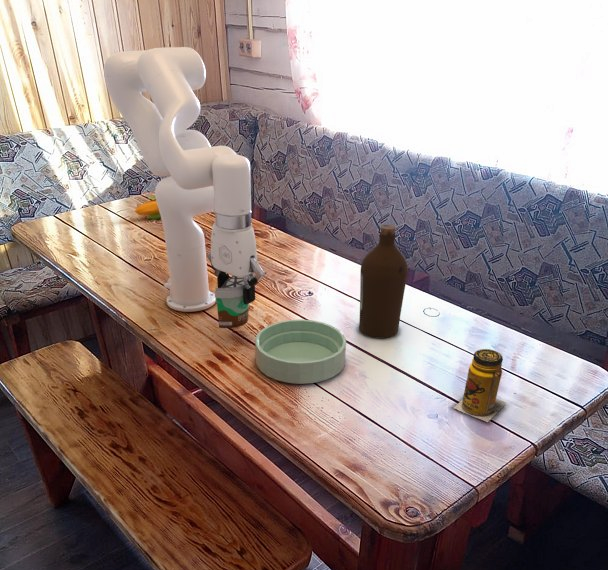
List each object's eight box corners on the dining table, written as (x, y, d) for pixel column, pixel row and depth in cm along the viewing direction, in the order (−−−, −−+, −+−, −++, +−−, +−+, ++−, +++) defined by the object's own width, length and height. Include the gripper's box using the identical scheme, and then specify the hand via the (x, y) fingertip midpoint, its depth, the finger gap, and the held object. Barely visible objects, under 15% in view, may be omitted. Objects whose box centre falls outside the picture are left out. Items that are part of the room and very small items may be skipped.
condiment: (452, 408, 116) (463, 355, 109) (472, 390, 121) (483, 339, 114) (487, 423, 112) (500, 369, 105) (506, 404, 117) (520, 351, 110)
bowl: (237, 365, 128) (236, 342, 125) (293, 332, 141) (293, 311, 138) (308, 396, 118) (308, 373, 115) (361, 359, 131) (363, 337, 128)
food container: (242, 334, 131) (241, 292, 126) (216, 330, 133) (214, 288, 127) (260, 312, 141) (260, 272, 136) (236, 308, 142) (234, 268, 137)
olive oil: (405, 324, 145) (417, 222, 131) (394, 343, 137) (406, 237, 123) (363, 316, 148) (371, 216, 134) (350, 335, 140) (357, 231, 126)
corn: (189, 192, 211) (138, 201, 201) (192, 213, 215) (142, 224, 205) (179, 189, 216) (128, 198, 206) (182, 210, 220) (132, 220, 210)
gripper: (191, 214, 125) (197, 291, 135) (252, 234, 116) (254, 314, 127) (216, 205, 130) (220, 281, 140) (276, 224, 121) (276, 303, 132)
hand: (236, 296), depth 133 cm, fingers closed on food container, 7 cm apart
